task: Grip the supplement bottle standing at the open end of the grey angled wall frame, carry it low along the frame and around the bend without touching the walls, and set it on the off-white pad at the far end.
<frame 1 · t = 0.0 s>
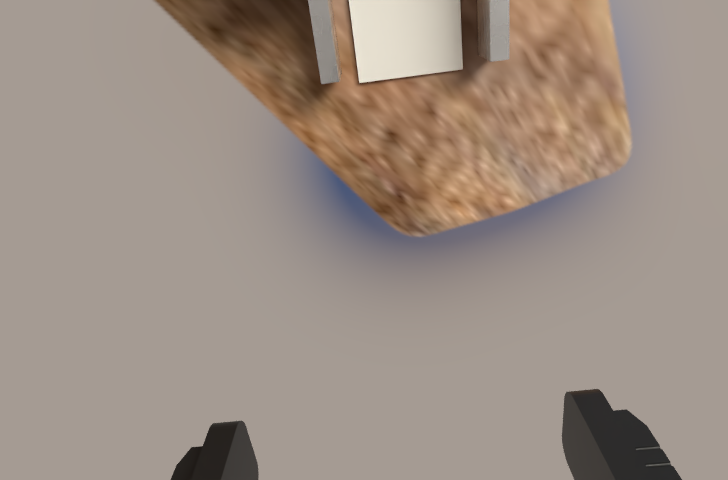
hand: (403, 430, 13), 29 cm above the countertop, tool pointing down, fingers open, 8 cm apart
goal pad: (405, 19, 35), on the countertop
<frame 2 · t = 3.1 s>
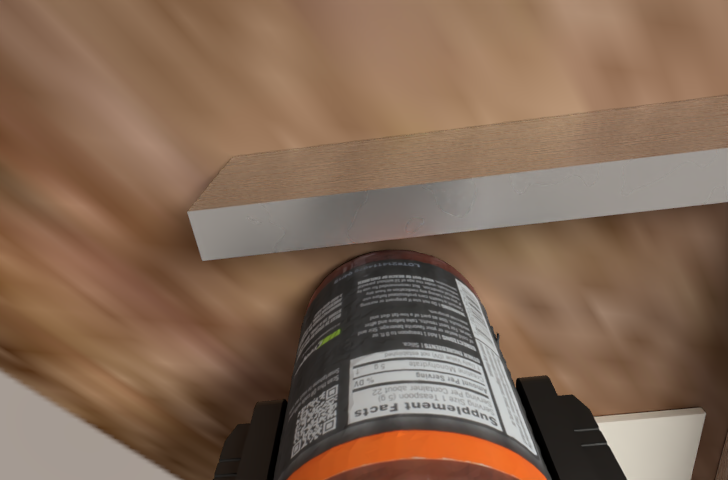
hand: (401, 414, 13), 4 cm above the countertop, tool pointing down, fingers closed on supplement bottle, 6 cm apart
grey angled wall frame: (514, 378, 18), on the countertop
supplement bottle: (393, 317, 17), on the countertop, touching gripper
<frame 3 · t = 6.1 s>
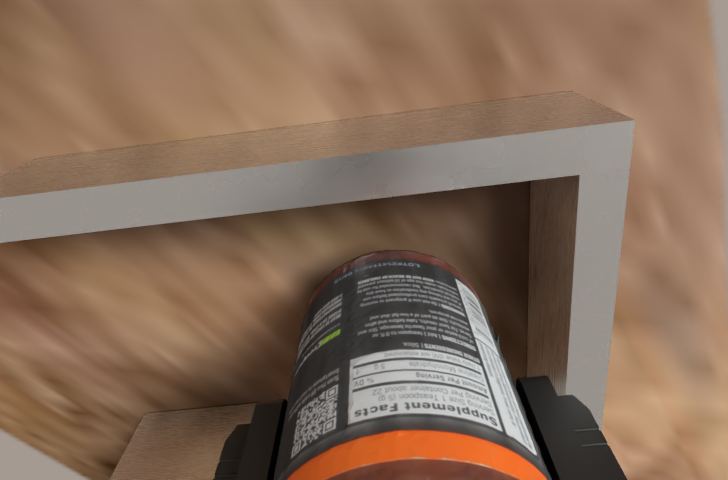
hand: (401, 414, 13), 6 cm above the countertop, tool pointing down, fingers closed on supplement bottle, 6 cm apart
grey angled wall frame: (323, 357, 20), on the countertop
supplement bottle: (393, 317, 17), point 2 cm above the countertop, touching gripper
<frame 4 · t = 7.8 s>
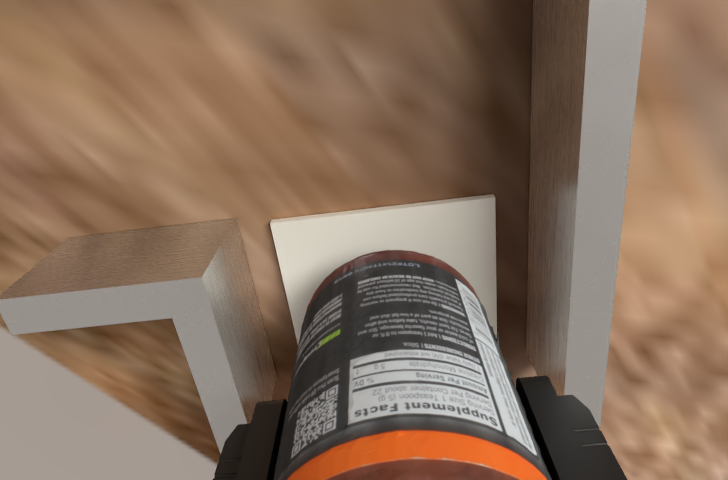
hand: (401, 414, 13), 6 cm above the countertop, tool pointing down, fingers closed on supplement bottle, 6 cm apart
grey angled wall frame: (281, 155, 16), on the countertop
supplement bottle: (393, 317, 17), point 2 cm above the countertop, touching gripper
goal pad: (392, 300, 19), on the countertop
when the fingers open (5 cm above the countertop, at t = 9.2 s): supplement bottle drops 1 cm, resting on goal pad.
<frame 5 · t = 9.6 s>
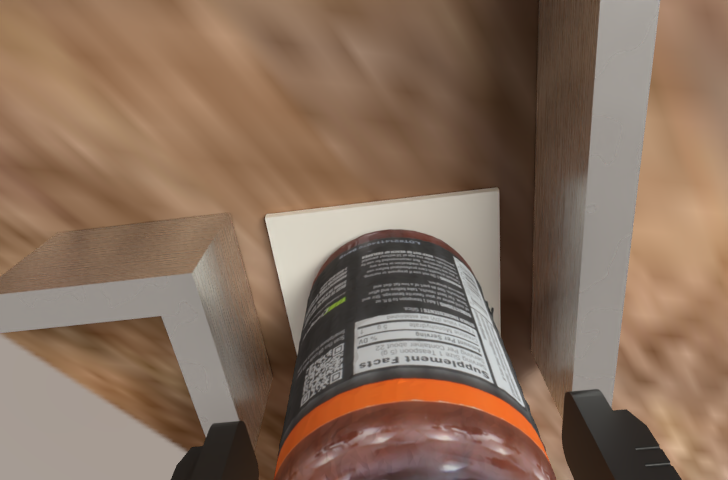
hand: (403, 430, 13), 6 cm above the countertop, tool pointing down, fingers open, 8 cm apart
grey angled wall frame: (276, 146, 16), on the countertop
supplement bottle: (394, 295, 18), resting on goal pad
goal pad: (392, 298, 18), on the countertop
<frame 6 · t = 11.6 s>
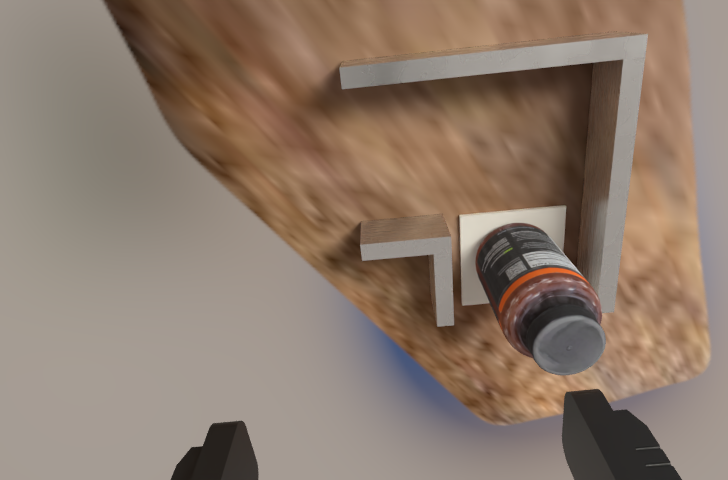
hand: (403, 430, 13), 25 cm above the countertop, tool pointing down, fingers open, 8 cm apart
grey angled wall frame: (469, 185, 36), on the countertop
supplement bottle: (512, 254, 38), resting on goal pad
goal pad: (510, 256, 38), on the countertop
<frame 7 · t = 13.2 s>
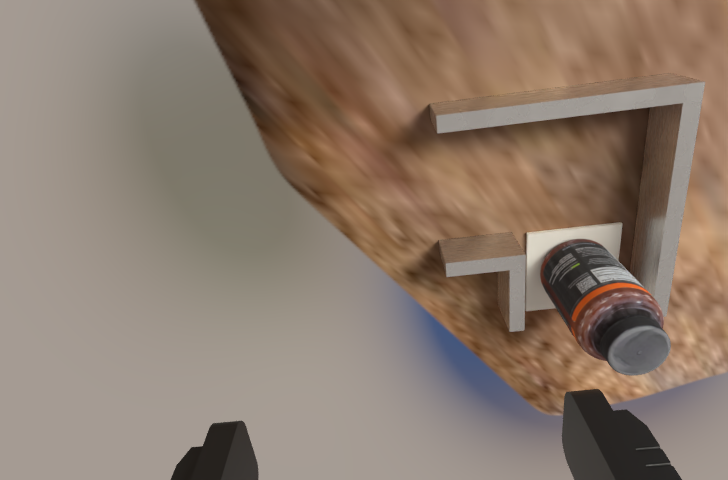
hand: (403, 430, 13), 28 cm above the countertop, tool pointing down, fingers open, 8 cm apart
grey angled wall frame: (536, 206, 40), on the countertop
supplement bottle: (572, 266, 42), resting on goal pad
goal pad: (570, 267, 43), on the countertop
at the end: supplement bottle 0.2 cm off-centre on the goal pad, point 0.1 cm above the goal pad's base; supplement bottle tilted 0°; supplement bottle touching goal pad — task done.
